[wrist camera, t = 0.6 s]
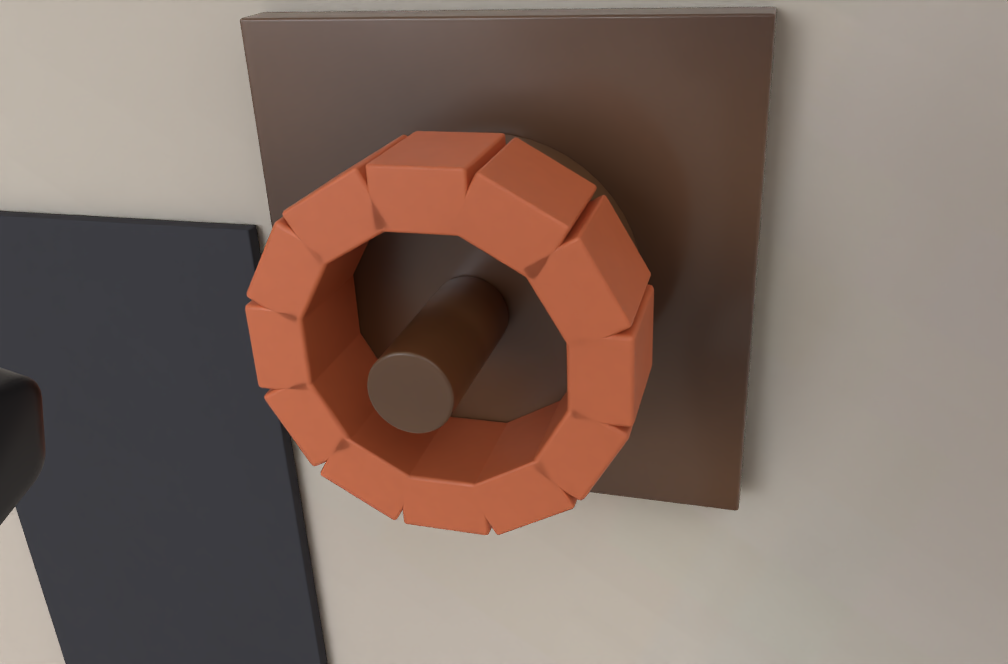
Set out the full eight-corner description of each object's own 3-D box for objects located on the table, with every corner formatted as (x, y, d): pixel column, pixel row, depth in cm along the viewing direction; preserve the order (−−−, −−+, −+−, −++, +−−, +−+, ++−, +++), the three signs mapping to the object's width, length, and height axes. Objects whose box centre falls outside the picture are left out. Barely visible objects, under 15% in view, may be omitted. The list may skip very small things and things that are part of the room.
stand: (740, 487, 23) (719, 689, 17) (323, 437, 26) (188, 596, 20) (777, 6, 18) (764, 68, 12) (261, 12, 21) (63, 64, 15)
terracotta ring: (649, 486, 20) (631, 557, 18) (327, 446, 22) (277, 507, 20) (658, 136, 17) (637, 174, 15) (281, 127, 19) (216, 159, 17)
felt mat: (341, 747, 31) (336, 757, 31) (84, 692, 34) (76, 700, 33) (256, 224, 23) (248, 230, 23) (-68, 206, 26) (-80, 210, 26)
